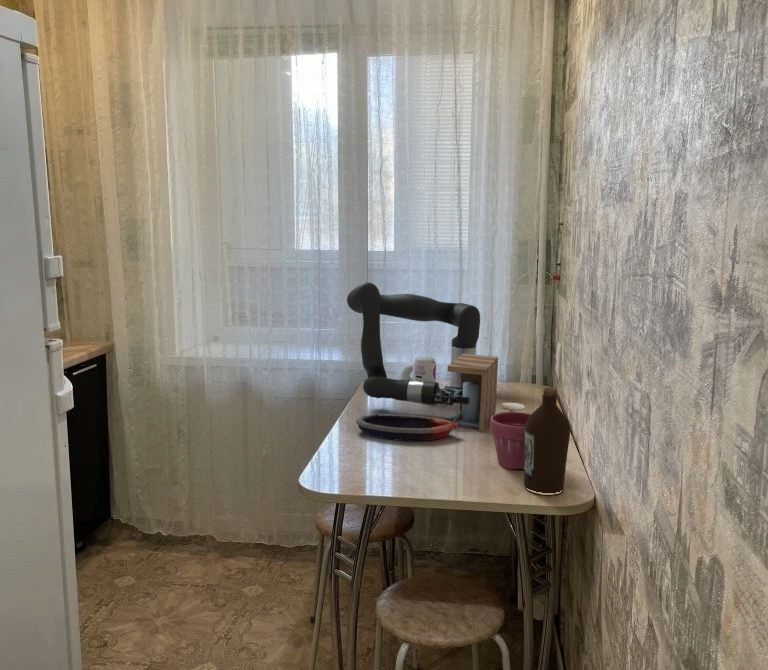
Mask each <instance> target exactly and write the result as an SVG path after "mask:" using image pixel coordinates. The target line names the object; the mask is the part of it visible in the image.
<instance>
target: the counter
mask: <svg viewBox="0 0 768 670" xmlns="http://www.w3.org/2000/svg"><path fill="white" fill-rule="evenodd" d="M498 368H499V356H494V355H482V354H476V355H472V354H462V355H460V356H459V357H458V358H457V359H456V360H454V361H453V362H452V363H451V362H450V363H449V364H448V365H447V371H446V372H449V373H450V372H457V373H461V387H462V388H463V383H464V382H478V383H480V384H481V388H480V408H479V413H480V424H479V429H478V432H479V433H484V431H486V428H487V427H488V425H490V420H491V417H492V416H493V415H495V414H496V403H497V385H498V370H499V369H498ZM461 411H462V404H459V412H461Z"/></svg>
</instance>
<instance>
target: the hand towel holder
mask: <svg viewBox="0 0 768 670" xmlns="http://www.w3.org/2000/svg"><path fill="white" fill-rule="evenodd" d="M499 406H500V408H501V409H502V410H507V411H509V412H519V411H522V410H523V409H525V408H526V407H525V405H524V404H521V403H518V402H503V403H500V404H499Z"/></svg>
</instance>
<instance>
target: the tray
mask: <svg viewBox="0 0 768 670" xmlns="http://www.w3.org/2000/svg"><path fill="white" fill-rule="evenodd" d="M451 422H454V423H457V424H458V427H459V428H467V429H474V430H479V424H480V413H479V421H477V422H465V421H463V420H462V411H459V413H458V415H457V416H456V417H455V418H454V419H453V420H452V421H451Z"/></svg>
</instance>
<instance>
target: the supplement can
mask: <svg viewBox="0 0 768 670" xmlns="http://www.w3.org/2000/svg"><path fill="white" fill-rule="evenodd" d="M412 363H413V372H412V379H413V381H415V380H418V381H428V382H437V381H436V379H437V377H436V376H437V375H436V374H437V361H436V359H435V358H434V357H431V356H430V357H429V356H417V357H415V358H414V361H413V362H412Z"/></svg>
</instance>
